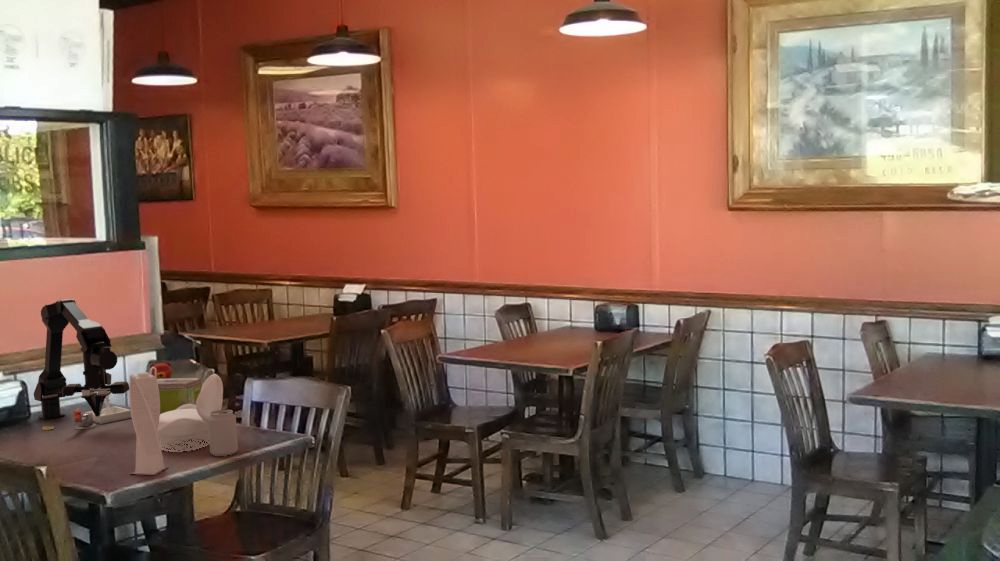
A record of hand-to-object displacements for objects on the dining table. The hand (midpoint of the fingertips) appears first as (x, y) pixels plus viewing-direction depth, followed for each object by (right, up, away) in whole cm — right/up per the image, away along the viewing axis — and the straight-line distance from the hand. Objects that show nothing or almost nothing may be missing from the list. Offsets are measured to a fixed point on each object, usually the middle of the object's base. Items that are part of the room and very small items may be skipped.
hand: (97, 416), depth 321 cm
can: (+48, -6, -32) cm, 58 cm away
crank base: (-7, -4, +8) cm, 11 cm away
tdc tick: (-18, -5, +6) cm, 20 cm away
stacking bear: (+15, -3, +17) cm, 23 cm away
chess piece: (-4, -3, +18) cm, 19 cm away
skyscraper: (+33, -9, -48) cm, 59 cm away
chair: (+35, -6, -21) cm, 41 cm away
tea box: (+23, -4, +3) cm, 24 cm away
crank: (-6, -4, +4) cm, 8 cm away
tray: (-3, -3, +18) cm, 19 cm away
